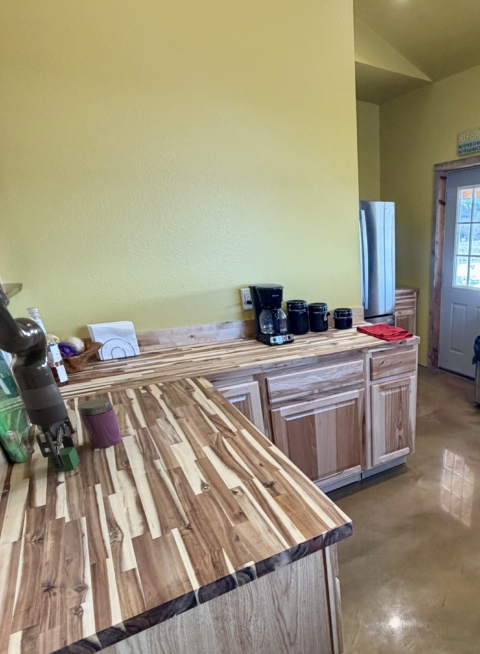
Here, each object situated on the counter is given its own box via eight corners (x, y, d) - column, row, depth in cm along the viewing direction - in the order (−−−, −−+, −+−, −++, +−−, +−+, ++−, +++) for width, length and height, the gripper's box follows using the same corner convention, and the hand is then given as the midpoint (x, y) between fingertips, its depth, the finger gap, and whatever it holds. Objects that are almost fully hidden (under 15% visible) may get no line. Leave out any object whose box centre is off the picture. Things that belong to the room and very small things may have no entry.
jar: (86, 450, 117) (73, 412, 112) (94, 437, 124) (83, 402, 119) (118, 445, 120) (107, 408, 115) (124, 434, 126) (114, 399, 122)
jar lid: (76, 416, 113) (74, 409, 112) (85, 406, 120) (83, 400, 119) (108, 413, 116) (106, 406, 115) (114, 403, 122) (112, 397, 121)
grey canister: (69, 435, 125) (61, 411, 122) (39, 437, 124) (31, 413, 121) (87, 421, 135) (80, 399, 132) (60, 423, 134) (52, 400, 131)
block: (53, 472, 106) (47, 457, 104) (60, 463, 110) (54, 449, 108) (74, 469, 108) (68, 454, 106) (79, 461, 111) (74, 446, 110)
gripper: (37, 394, 106) (58, 449, 113) (12, 415, 94) (37, 476, 101) (71, 390, 109) (90, 445, 115) (50, 410, 96) (73, 470, 103)
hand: (65, 459), depth 108 cm, fingers open, 8 cm apart
